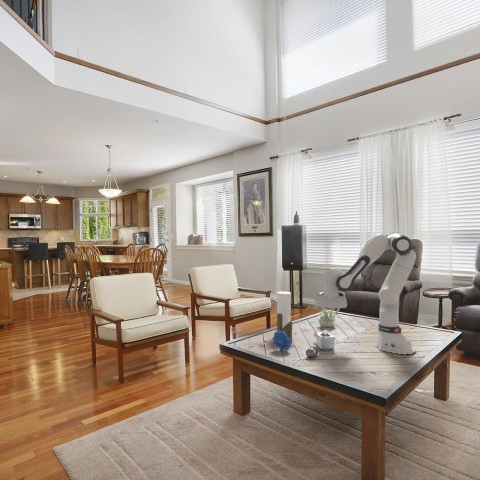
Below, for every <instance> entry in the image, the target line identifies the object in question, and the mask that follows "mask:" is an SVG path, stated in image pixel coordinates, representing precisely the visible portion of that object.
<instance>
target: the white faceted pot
mask: <svg viewBox="0 0 480 480" xmlns="http://www.w3.org/2000/svg"><path fill="white" fill-rule="evenodd" d="M321 333H322V336H323V337H324V336H329V334H328V333H329V332H321ZM316 348H317V349H318V351H325V352H331V351H334V349H335V347H334V348H328V349H321V348H320V347H319V346H317V345H316Z"/></svg>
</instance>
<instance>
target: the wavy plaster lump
mask: <svg viewBox="0 0 480 480" xmlns="http://www.w3.org/2000/svg"><path fill="white" fill-rule="evenodd" d="M323 310H324V311H326V314H323ZM323 310H320V316H319V318H318V319H317V321H318V323H319V326H320V327H323V328H326V327H327V328H332V327H333V325H334V323H335V319H336V314H335V311H334V310H332V309H329V310H328V309H325V308H324V309H323Z"/></svg>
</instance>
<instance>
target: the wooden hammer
mask: <svg viewBox="0 0 480 480" xmlns="http://www.w3.org/2000/svg"><path fill="white" fill-rule="evenodd" d="M279 330H280V331H283V332H285V333H287V337H290V339H291V342H290V343H291V344H293V321H292V320H291V322H289V323H288V324H287V325H286V326H285V327H284V328H282V313H277V312H276V332H277V333H278V331H279Z"/></svg>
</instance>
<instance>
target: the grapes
mask: <svg viewBox="0 0 480 480" xmlns="http://www.w3.org/2000/svg"><path fill="white" fill-rule="evenodd" d="M272 340H273V342H274V346H275V347H277V348H279V350H280V351H288V350H289V348H291V347H292V343H290V342H291V339H290V337H287V333H285V332H284V333H283V332H282V331H280V330H279V331H278V333H277V331H276V332H274V333H273V337H272Z"/></svg>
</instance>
